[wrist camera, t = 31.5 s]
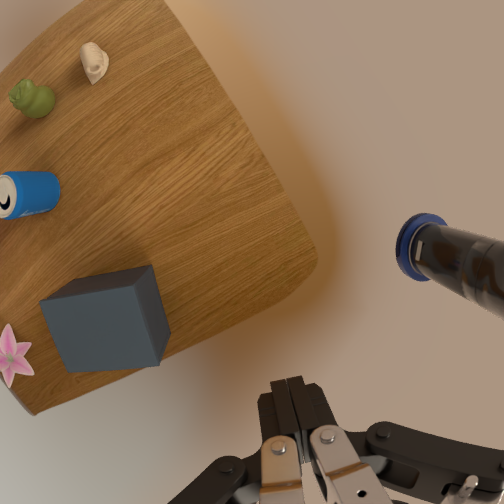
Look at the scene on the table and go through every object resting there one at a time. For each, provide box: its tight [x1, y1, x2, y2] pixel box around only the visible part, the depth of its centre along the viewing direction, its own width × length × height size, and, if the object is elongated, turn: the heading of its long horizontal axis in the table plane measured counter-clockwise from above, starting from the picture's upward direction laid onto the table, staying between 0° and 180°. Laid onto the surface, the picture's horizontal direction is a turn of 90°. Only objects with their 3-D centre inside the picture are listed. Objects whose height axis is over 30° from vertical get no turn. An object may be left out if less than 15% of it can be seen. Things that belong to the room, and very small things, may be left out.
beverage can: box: [0, 171, 60, 220], centre depth 34 cm, size 6×6×12 cm
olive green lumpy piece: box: [8, 79, 55, 118], centre depth 31 cm, size 6×5×10 cm
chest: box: [47, 265, 171, 362], centre depth 40 cm, size 15×12×9 cm
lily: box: [0, 323, 34, 388], centre depth 42 cm, size 12×12×10 cm
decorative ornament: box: [80, 42, 109, 85], centre depth 33 cm, size 4×8×5 cm, turn 23°
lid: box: [39, 284, 160, 373], centre depth 35 cm, size 15×12×1 cm
